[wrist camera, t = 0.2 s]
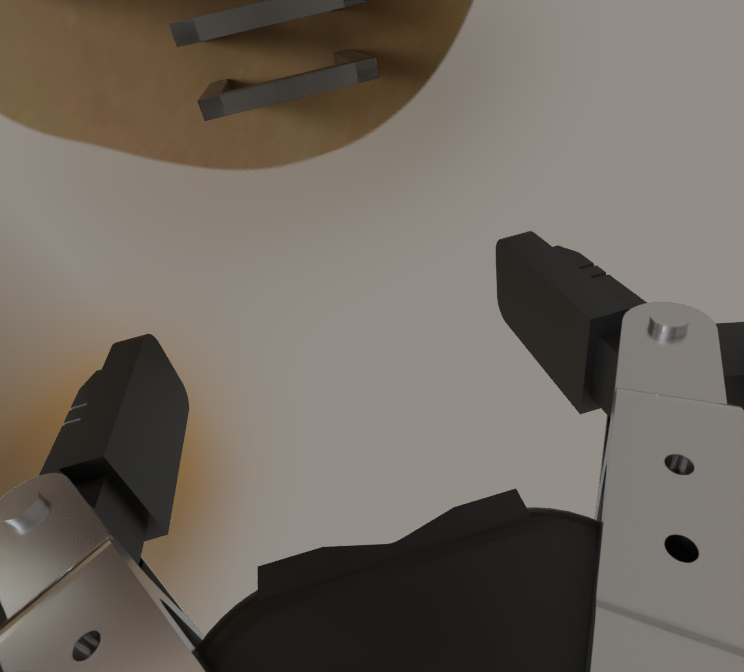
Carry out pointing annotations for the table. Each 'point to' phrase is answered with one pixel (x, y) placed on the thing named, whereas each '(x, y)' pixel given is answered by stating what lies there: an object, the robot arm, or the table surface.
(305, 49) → the table surface
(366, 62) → the collar
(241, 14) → the collar
